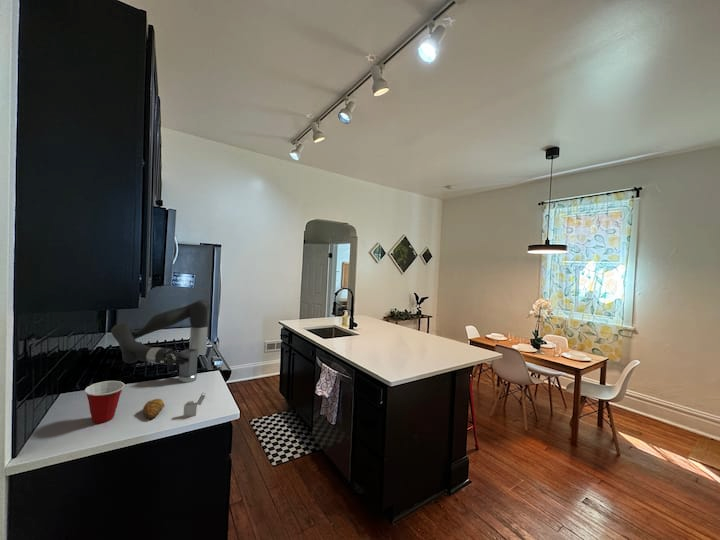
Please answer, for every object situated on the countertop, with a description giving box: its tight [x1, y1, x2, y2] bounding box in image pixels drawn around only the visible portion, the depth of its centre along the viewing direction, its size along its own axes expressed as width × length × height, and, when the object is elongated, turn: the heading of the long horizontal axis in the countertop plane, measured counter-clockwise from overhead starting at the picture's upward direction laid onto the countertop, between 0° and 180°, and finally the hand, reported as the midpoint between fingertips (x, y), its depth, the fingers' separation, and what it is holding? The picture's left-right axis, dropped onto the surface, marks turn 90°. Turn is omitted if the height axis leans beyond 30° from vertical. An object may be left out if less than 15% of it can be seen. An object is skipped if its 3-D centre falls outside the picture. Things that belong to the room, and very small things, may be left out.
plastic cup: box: [84, 380, 126, 425], centre depth 104 cm, size 11×11×12 cm
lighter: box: [182, 392, 207, 418], centre depth 111 cm, size 7×2×8 cm, turn 114°
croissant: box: [143, 398, 166, 420], centre depth 111 cm, size 14×7×5 cm, turn 26°
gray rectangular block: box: [178, 348, 199, 378], centre depth 141 cm, size 5×5×12 cm
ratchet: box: [178, 374, 198, 384], centre depth 146 cm, size 19×8×5 cm, turn 37°
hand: (190, 359), depth 141 cm, fingers open, 8 cm apart
